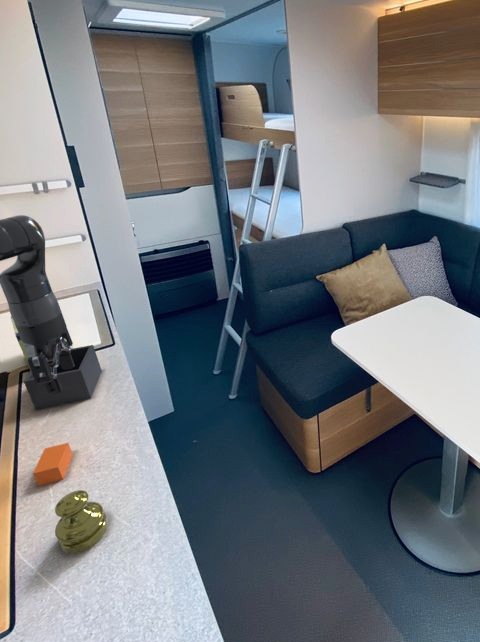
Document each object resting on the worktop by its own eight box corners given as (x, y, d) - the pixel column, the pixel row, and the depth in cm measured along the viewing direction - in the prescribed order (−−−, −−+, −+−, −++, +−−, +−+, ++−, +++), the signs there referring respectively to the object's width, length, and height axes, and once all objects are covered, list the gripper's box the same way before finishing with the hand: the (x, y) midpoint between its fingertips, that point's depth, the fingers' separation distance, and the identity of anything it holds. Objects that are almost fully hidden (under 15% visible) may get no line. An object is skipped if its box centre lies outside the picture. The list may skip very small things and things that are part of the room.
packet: (63, 480, 88) (58, 467, 87) (39, 487, 87) (32, 473, 85) (73, 455, 94) (68, 442, 93) (50, 461, 93) (44, 448, 92)
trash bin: (36, 411, 108) (23, 381, 104) (52, 382, 119) (41, 354, 115) (91, 399, 112) (80, 370, 108) (102, 372, 123) (93, 344, 119)
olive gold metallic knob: (66, 525, 79) (50, 489, 75) (111, 510, 82) (97, 474, 78) (57, 562, 73) (38, 525, 69) (105, 544, 76) (90, 507, 72)
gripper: (29, 302, 87) (53, 364, 93) (-2, 337, 75) (29, 406, 81) (70, 296, 90) (91, 357, 96) (47, 329, 77) (73, 397, 83)
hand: (62, 380), depth 88 cm, fingers open, 8 cm apart
